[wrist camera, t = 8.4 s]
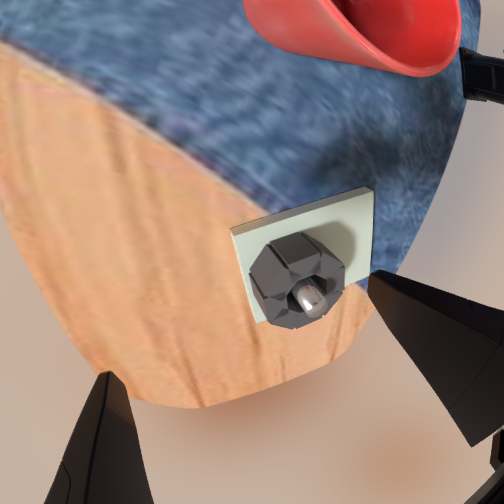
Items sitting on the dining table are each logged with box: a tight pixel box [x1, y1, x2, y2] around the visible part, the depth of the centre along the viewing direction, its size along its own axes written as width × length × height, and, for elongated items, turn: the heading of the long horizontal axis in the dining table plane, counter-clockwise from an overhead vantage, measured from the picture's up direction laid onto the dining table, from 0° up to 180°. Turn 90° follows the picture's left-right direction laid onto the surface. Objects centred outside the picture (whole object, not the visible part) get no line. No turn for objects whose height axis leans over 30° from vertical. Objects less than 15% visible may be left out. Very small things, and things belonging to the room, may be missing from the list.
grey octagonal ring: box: [248, 232, 345, 330], centre depth 21 cm, size 6×6×3 cm
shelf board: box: [230, 187, 374, 323], centre depth 23 cm, size 12×9×1 cm
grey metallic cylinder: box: [290, 277, 328, 318], centre depth 21 cm, size 2×2×6 cm
